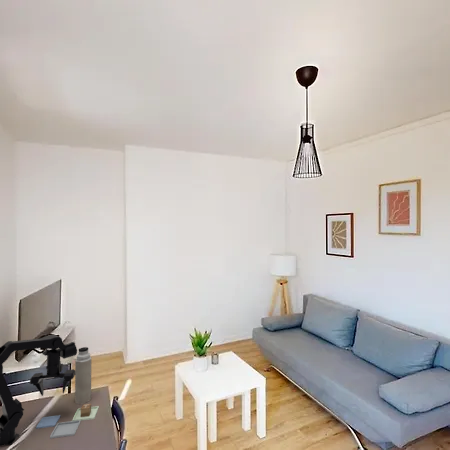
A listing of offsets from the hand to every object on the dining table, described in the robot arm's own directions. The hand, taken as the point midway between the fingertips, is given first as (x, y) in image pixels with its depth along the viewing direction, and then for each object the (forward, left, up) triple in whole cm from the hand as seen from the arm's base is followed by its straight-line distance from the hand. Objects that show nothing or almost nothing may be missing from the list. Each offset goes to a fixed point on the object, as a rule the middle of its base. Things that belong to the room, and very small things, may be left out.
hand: (53, 394), depth 147 cm
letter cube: (+1, -15, -12) cm, 19 cm away
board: (-2, +1, -12) cm, 13 cm away
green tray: (+1, -15, -12) cm, 19 cm away
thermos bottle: (+16, -10, -13) cm, 22 cm away
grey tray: (-10, -9, -12) cm, 18 cm away
